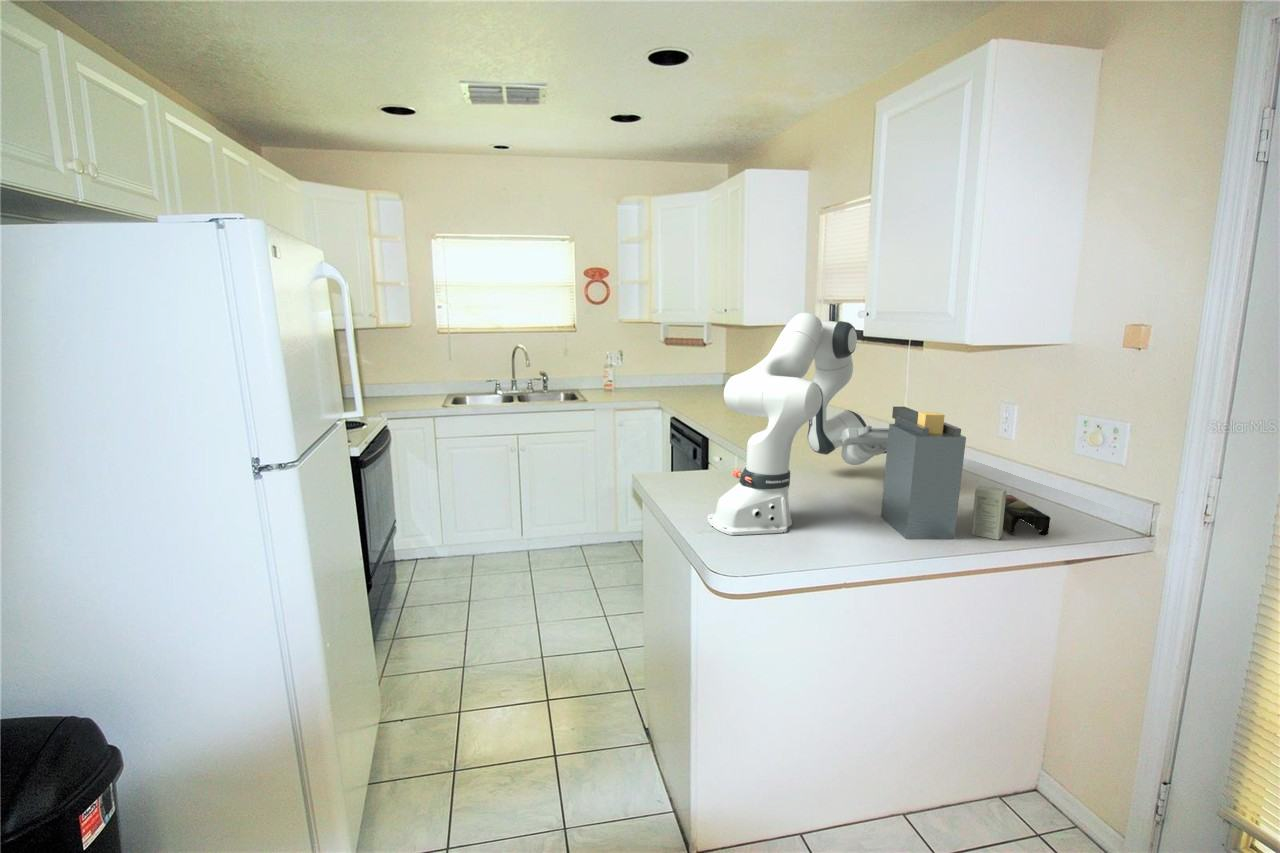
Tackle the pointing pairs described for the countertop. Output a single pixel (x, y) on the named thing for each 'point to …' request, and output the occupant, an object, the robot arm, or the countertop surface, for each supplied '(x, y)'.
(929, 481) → the grey tall box
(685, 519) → the countertop surface
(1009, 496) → the juice carton
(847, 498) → the countertop surface
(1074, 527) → the countertop surface
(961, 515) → the countertop surface
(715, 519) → the robot arm
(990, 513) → the skincare box
